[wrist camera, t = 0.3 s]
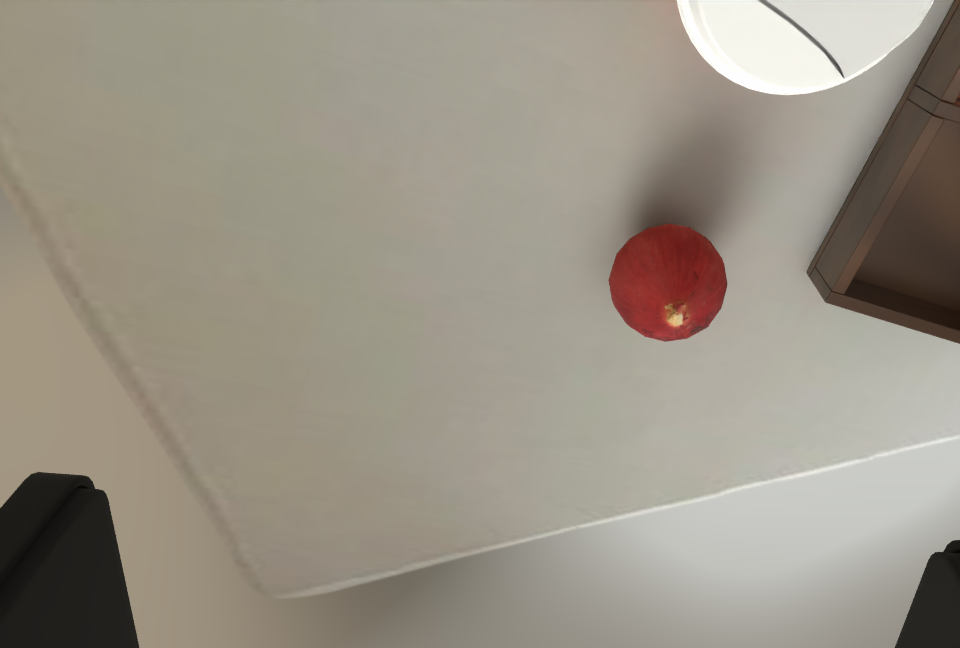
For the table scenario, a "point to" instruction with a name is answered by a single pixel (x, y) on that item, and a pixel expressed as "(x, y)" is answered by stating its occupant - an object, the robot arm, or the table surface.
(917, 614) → the robot arm
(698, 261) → the red round fruit
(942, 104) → the organizer
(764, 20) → the coffee cup
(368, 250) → the table surface
